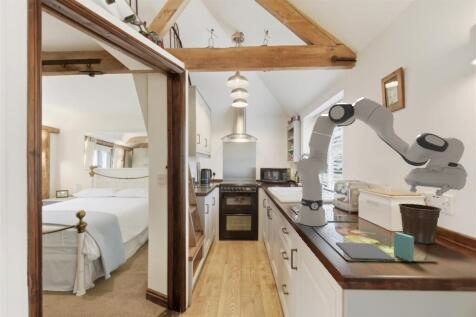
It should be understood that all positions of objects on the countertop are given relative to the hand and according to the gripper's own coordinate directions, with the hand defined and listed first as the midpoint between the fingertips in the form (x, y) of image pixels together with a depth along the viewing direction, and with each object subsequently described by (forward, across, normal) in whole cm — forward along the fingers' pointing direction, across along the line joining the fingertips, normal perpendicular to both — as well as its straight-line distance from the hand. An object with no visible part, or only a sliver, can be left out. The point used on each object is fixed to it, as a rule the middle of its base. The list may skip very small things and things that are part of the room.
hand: (424, 193), depth 96 cm
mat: (+33, -10, +2) cm, 35 cm away
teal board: (+26, 0, +9) cm, 28 cm away
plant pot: (+6, -11, +29) cm, 32 cm away
